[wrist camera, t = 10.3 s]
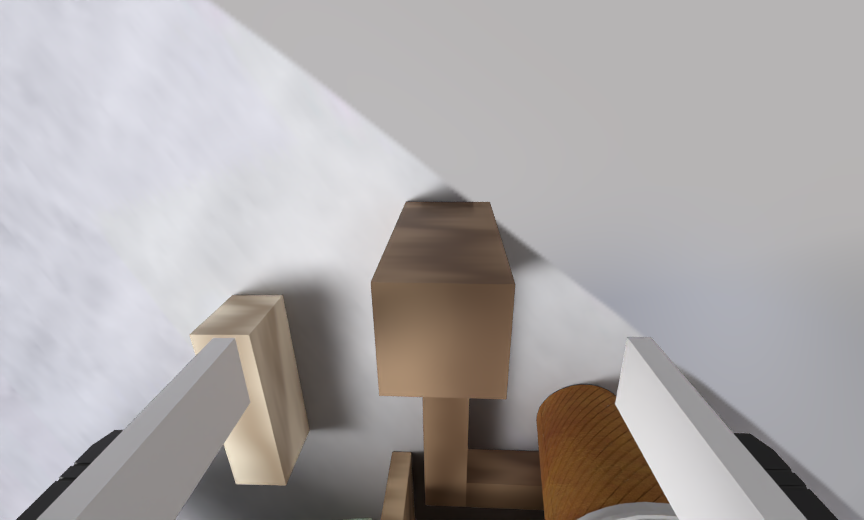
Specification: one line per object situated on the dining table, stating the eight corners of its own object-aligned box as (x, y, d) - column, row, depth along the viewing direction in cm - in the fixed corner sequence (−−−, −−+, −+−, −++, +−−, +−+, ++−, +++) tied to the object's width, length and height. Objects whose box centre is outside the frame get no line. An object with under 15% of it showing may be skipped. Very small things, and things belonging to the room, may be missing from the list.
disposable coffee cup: (510, 370, 29) (545, 547, 18) (651, 360, 28) (781, 540, 17) (517, 467, 32) (550, 665, 21) (642, 461, 31) (744, 664, 20)
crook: (415, 469, 33) (397, 638, 23) (405, 201, 24) (370, 282, 14) (616, 477, 32) (691, 656, 22) (681, 202, 23) (853, 289, 13)
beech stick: (267, 427, 32) (235, 484, 28) (233, 293, 28) (189, 334, 23) (310, 428, 32) (285, 485, 27) (283, 293, 27) (249, 334, 23)
